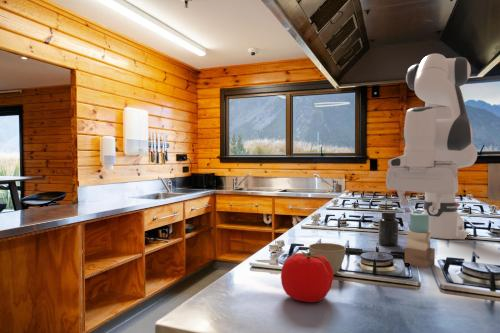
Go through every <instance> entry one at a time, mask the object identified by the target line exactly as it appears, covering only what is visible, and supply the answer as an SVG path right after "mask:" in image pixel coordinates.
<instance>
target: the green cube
mask: <svg viewBox="0 0 500 333" xmlns="http://www.w3.org/2000/svg"><path fill="white" fill-rule="evenodd" d="M409 216H410V217H409V230H410V231H411V232H416V233H428V232H429V215H427V214H421V213H410V214H409Z"/></svg>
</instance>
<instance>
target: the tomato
mask: <svg viewBox="0 0 500 333" xmlns="http://www.w3.org/2000/svg"><path fill="white" fill-rule="evenodd" d="M280 273H281V274H280V281H281V285H282V289H283V290H284V292H285V294H286V295H287V296H288V297H290V298H291V299H294V300H296V301H300V302H305V303H316V302H320V301H322V300H323V299H324V298H326V296H327V295H328V294H329V292H330V290H331V289H332V285H333V283H334V275H333V269H332V267H331V265H330V263H329V262H328V260H327V259H326V258H325V257H323V256H320V255H317V254H311V253H310V252H304V251H302V250H300V252H298V253H293V255H291V256H290V257H288V258H287V259H286V260H285V261H284V262H283V265H282V267H281V272H280Z"/></svg>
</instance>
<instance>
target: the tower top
mask: <svg viewBox="0 0 500 333" xmlns="http://www.w3.org/2000/svg"><path fill="white" fill-rule="evenodd" d="M406 232H407V233H406V234H407V235H406V238H407V239H406V245H407V246H406V247H407V248H411V249H417V250H423V251H426V250H427V249H429V248H431V237H430V231H429V232H428V233H416V232H411V231H410V229H409V230H407V231H406Z"/></svg>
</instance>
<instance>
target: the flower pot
mask: <svg viewBox="0 0 500 333" xmlns="http://www.w3.org/2000/svg"><path fill="white" fill-rule="evenodd" d="M308 250H309V251H308V252H309V253H311V254H317V255H320V256H323V257H325V258H326V259H327V260H328V262H329V263H330V265H331V267H332V269H333V276H334V275H336V274H337V273H338V272H339V271H340V269H341V267H342V265H343V263H344V259H345V256H346V251H347V248H346V246H345V245H343V244H342V245H341V244H338V243H329V242H319V243H318V242H317V243H311V244H310V245H308Z"/></svg>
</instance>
